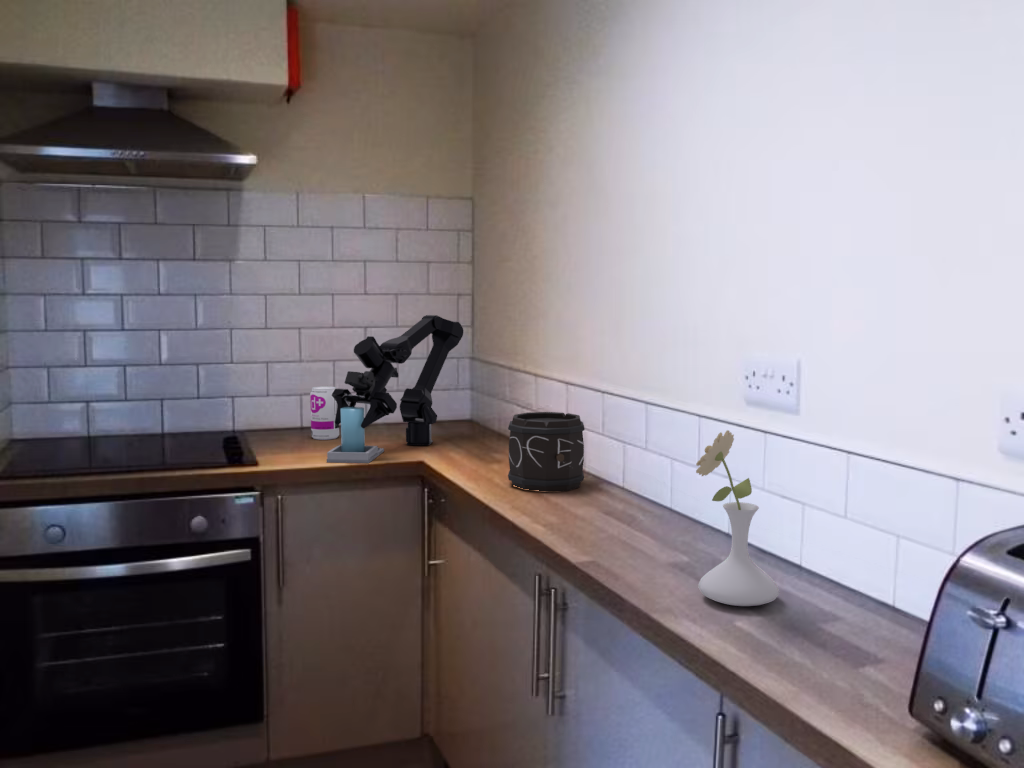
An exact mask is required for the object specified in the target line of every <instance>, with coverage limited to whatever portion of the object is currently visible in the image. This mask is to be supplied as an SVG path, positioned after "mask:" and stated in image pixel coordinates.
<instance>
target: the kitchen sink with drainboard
mask: <svg viewBox="0 0 1024 768" xmlns="http://www.w3.org/2000/svg"><path fill="white" fill-rule="evenodd" d="M384 452H385V448H384V447H383V448H381V447H378V445H365V452H342V451H341V444H339V445H337V446H335V447H333V448H331V449H330V450H329V451H327V453H326V457H327V458H326V463H335V464H336V463H338V464H339V463H340V464H343V463H345V464H349V463H350V464H369V463H371V462H372V461H374V460H375V459H376V458H377V457H378V456H380V455H381V454H383V453H384Z"/></svg>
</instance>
